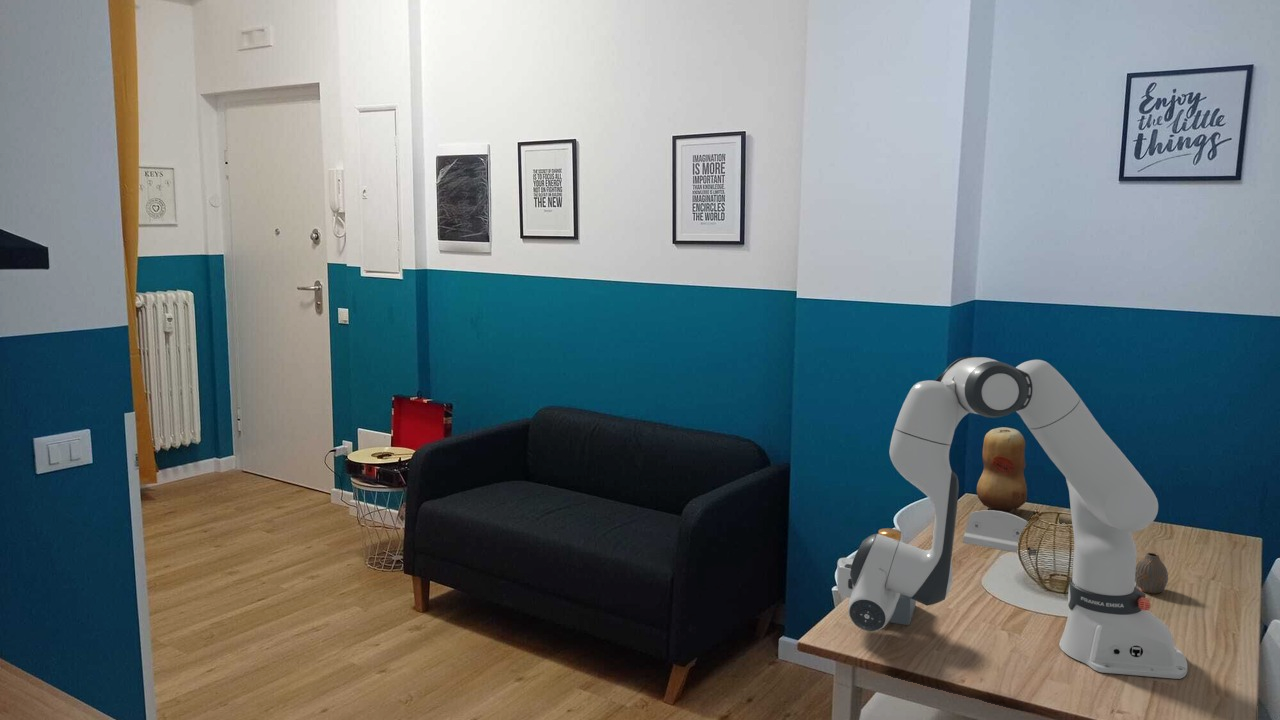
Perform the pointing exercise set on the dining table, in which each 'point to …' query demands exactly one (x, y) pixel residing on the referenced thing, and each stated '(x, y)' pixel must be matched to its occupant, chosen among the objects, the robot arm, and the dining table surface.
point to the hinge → (994, 530)
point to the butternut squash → (1003, 470)
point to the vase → (1151, 574)
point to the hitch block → (903, 610)
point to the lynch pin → (890, 533)
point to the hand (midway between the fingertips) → (889, 562)
